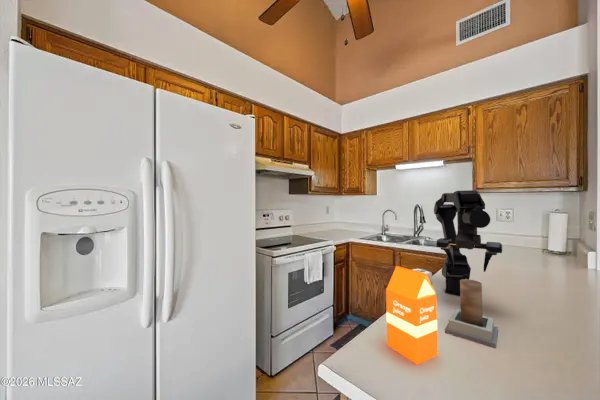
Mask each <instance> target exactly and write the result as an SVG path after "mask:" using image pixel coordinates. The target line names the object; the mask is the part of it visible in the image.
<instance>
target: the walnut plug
mask: <svg viewBox="0 0 600 400" xmlns="http://www.w3.org/2000/svg"><path fill="white" fill-rule="evenodd" d="M482 285H483V284H482V283H481V282H480V281H478V280H474V279H470V278H469V279H462V280H460V295H459V297H460V298H459V299H460V310H461V322H465V323H468V324H472V325H476V326H479V327H483V322H482V316H483V286H482Z"/></svg>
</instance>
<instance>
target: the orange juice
mask: <svg viewBox="0 0 600 400" xmlns="http://www.w3.org/2000/svg"><path fill="white" fill-rule="evenodd" d="M385 290H386V291H385V294H386V296H385V299H386V307H385V309H386V320H385V321H386V345H387V347H389V348H391V349H393V351H396V352H397V353H398V354H400V355H402V356H403V357H404V358H406V359H408V360H409V361H411V362H412V363H414V364H415V365H416V366H418V365H420V364H422V363H424V362H426V361H428V360H430V359H432V358H434V357H437V356H438V355H439V354H438V351H439V350H438V348H439V347H438V316H437V315H438V313H437V309H438V308H437V307H438V306H437V293H436V291H435V288H434V287H433V284H432V285H431V283H430V281H429V279H428V277H427V275H426V274H425V273H421V272H417V271H414V270H413V269H410V268H406V267H402V266H398V265H396V266H395V268H394V271H393V273H392V275H391V277H390V280H389V282H388V284H387V287H386V288H385Z"/></svg>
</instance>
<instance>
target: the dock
mask: <svg viewBox="0 0 600 400" xmlns="http://www.w3.org/2000/svg"><path fill="white" fill-rule="evenodd" d="M482 322H483V327H479V326H476V325H472V324H468V323H465V322H461V309H456V308H454V310H453V312H452V313H451V315H450V317H449V319H448V323H447V325H446V327H445V329H444V334H445V333H446V334H448V335H451V336H455V337H459V338H461V339H464V340H468V341H471V342H475V343H477V344H481V345H484V346H487V347H490V348H494V349H496V348H497V340H498V333H499V327H498V326H495V318H493V317H488V316H485V315H482Z"/></svg>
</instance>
